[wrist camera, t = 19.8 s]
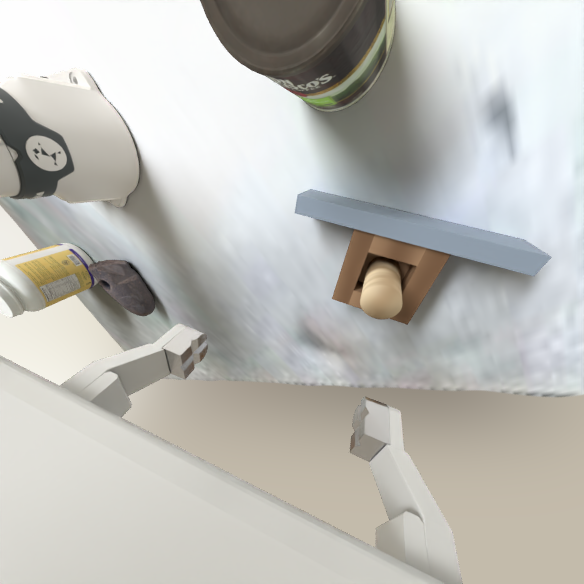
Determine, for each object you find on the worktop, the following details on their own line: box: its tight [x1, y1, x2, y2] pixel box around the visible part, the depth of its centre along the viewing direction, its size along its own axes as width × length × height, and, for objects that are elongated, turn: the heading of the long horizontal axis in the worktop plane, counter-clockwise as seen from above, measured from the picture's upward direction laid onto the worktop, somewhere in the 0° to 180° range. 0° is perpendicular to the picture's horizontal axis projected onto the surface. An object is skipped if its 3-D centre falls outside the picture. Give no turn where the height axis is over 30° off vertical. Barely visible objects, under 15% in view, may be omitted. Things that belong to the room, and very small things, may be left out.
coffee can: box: [200, 0, 395, 112], centre depth 16 cm, size 10×10×14 cm
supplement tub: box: [0, 243, 98, 318], centre depth 51 cm, size 12×12×17 cm
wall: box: [295, 189, 551, 276], centre depth 24 cm, size 24×2×5 cm, turn 81°
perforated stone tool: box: [88, 260, 155, 316], centre depth 50 cm, size 15×5×7 cm, turn 25°
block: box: [332, 229, 451, 325], centre depth 28 cm, size 10×10×4 cm
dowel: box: [360, 256, 403, 319], centre depth 26 cm, size 4×4×8 cm
